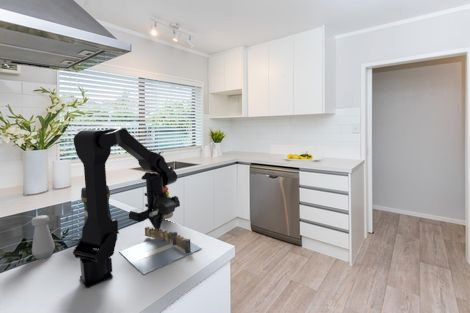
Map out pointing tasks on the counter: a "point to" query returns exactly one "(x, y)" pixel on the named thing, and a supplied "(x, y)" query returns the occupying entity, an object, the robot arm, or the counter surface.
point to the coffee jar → (83, 197)
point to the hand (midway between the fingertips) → (157, 230)
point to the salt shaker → (42, 238)
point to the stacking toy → (168, 197)
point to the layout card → (155, 254)
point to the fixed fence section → (181, 242)
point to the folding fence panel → (158, 234)
